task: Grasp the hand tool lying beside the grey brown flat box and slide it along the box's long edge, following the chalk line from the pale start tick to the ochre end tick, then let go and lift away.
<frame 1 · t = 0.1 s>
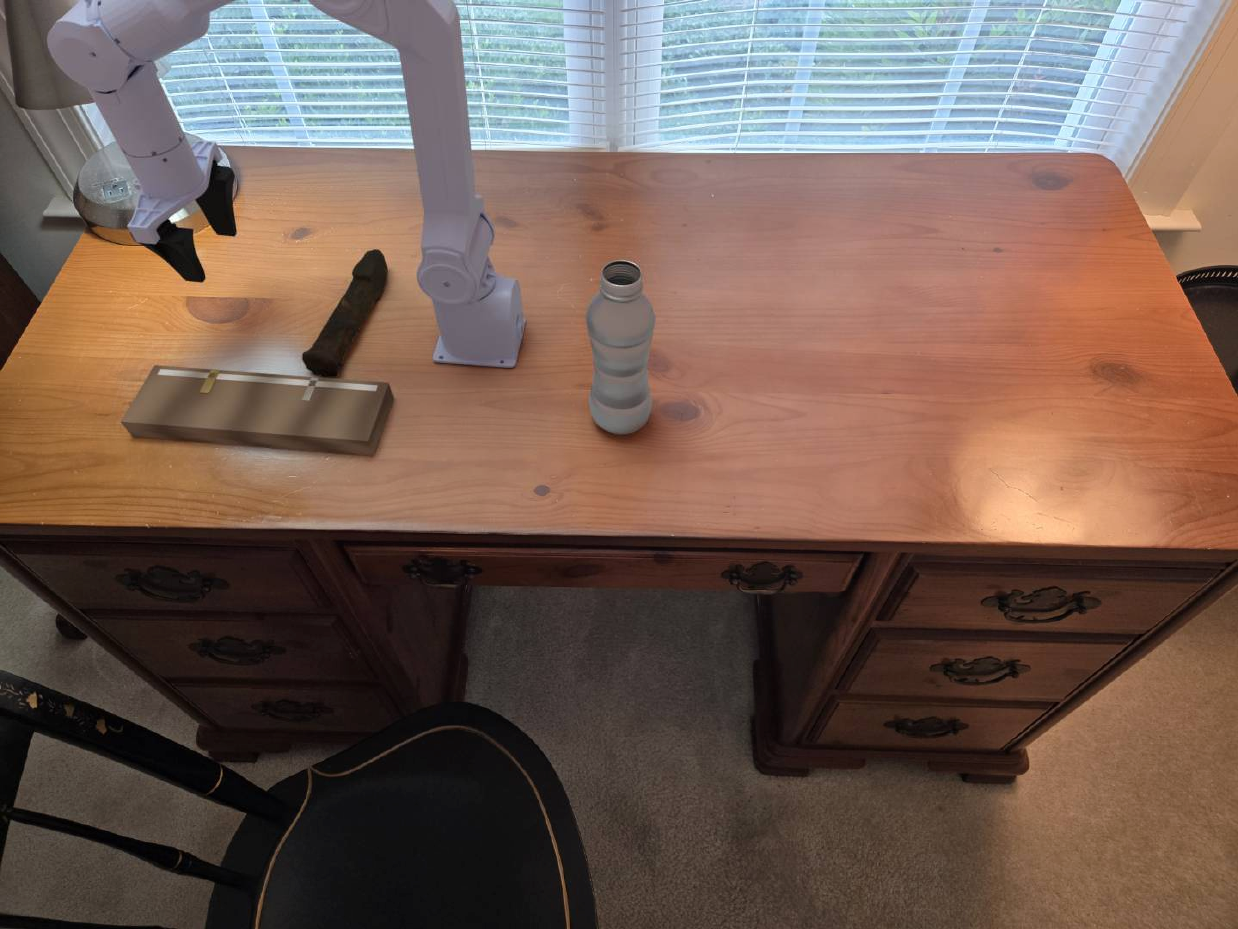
hand: (211, 256, 86), 10 cm above the table, tool pointing down, fingers open, 7 cm apart
grey brown flat box: (265, 416, 85), on the table
plastic bottle: (620, 419, 86), on the table
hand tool: (353, 322, 94), on the table
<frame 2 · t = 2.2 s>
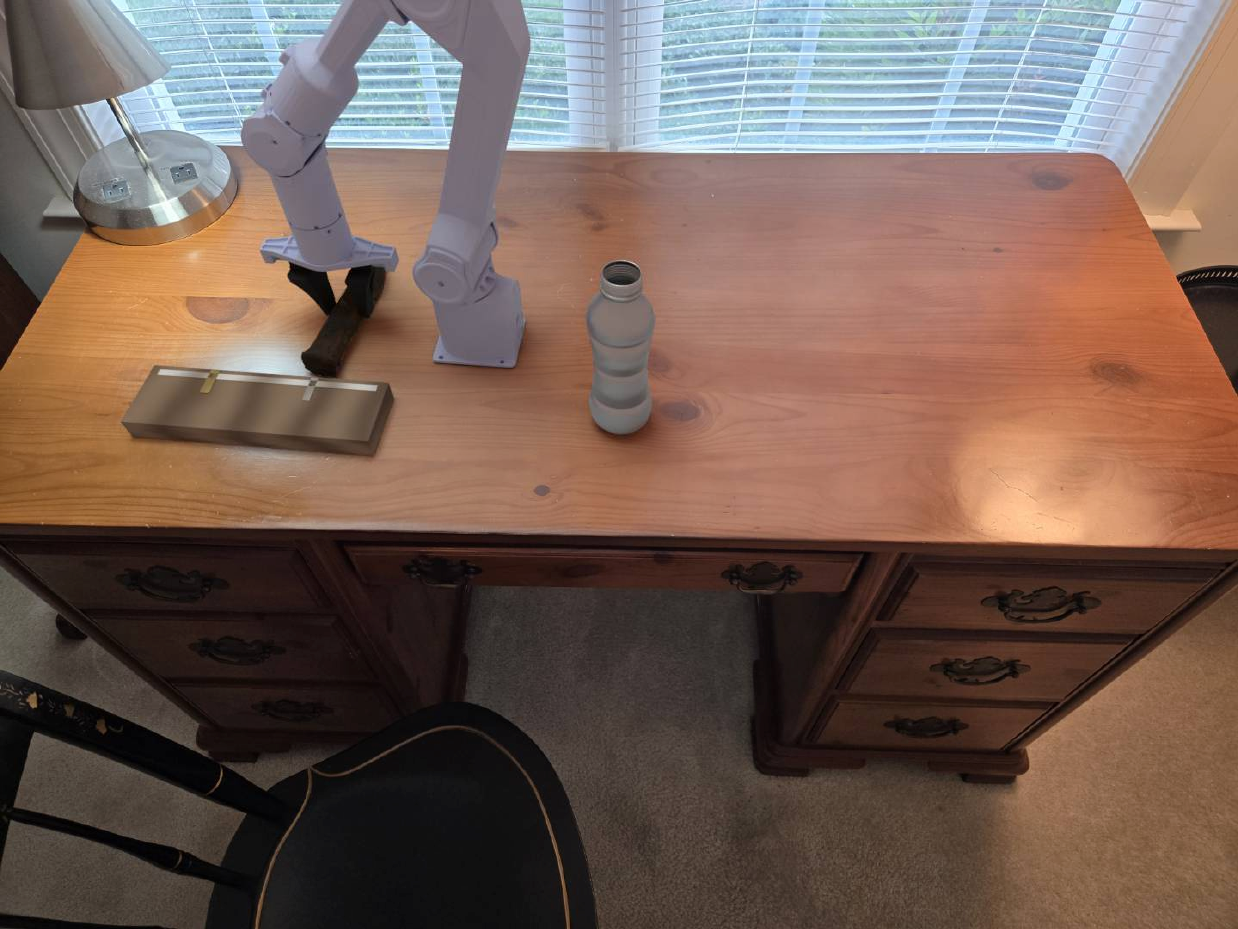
hand: (350, 311, 93), 1 cm above the table, tool pointing down, fingers open, 4 cm apart
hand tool: (352, 322, 94), on the table, touching gripper
everything else where it was.
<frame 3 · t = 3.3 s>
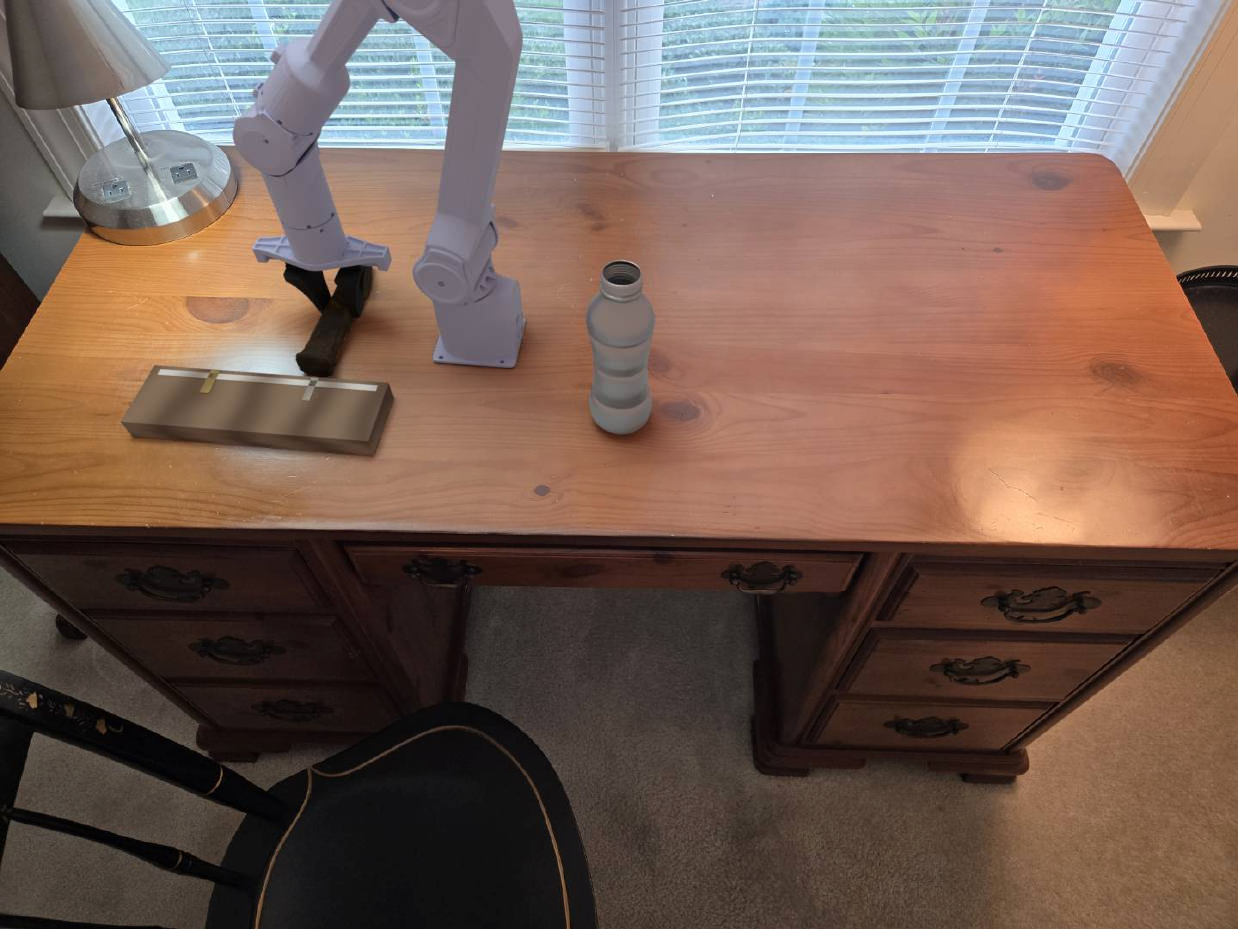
hand: (343, 310, 93), 1 cm above the table, tool pointing down, fingers closed on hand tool, 3 cm apart
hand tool: (343, 322, 94), on the table, touching gripper
everything else where it was.
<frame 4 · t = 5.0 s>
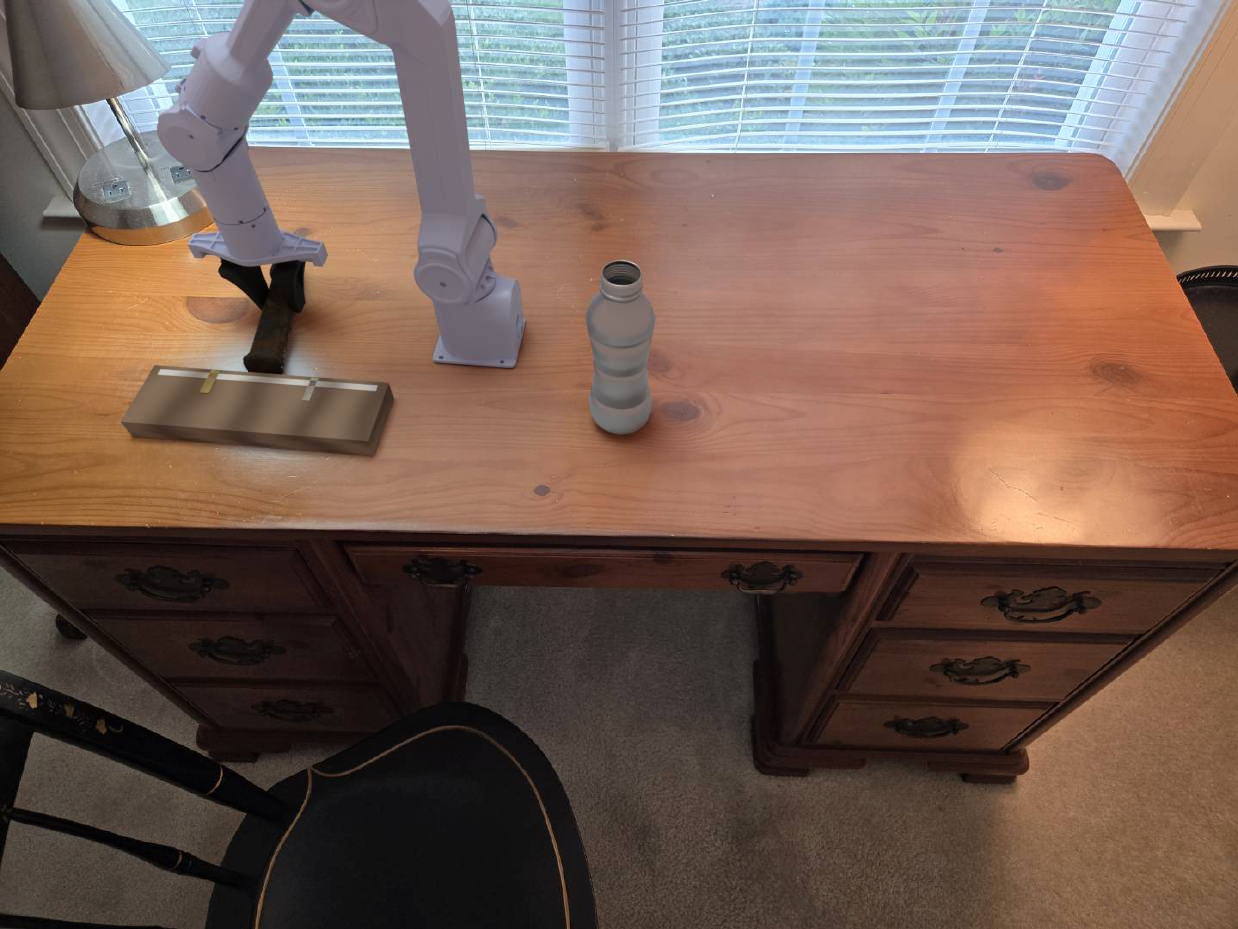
hand: (283, 306, 93), 1 cm above the table, tool pointing down, fingers closed on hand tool, 3 cm apart
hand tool: (281, 323, 94), on the table, touching gripper
everything else where it was.
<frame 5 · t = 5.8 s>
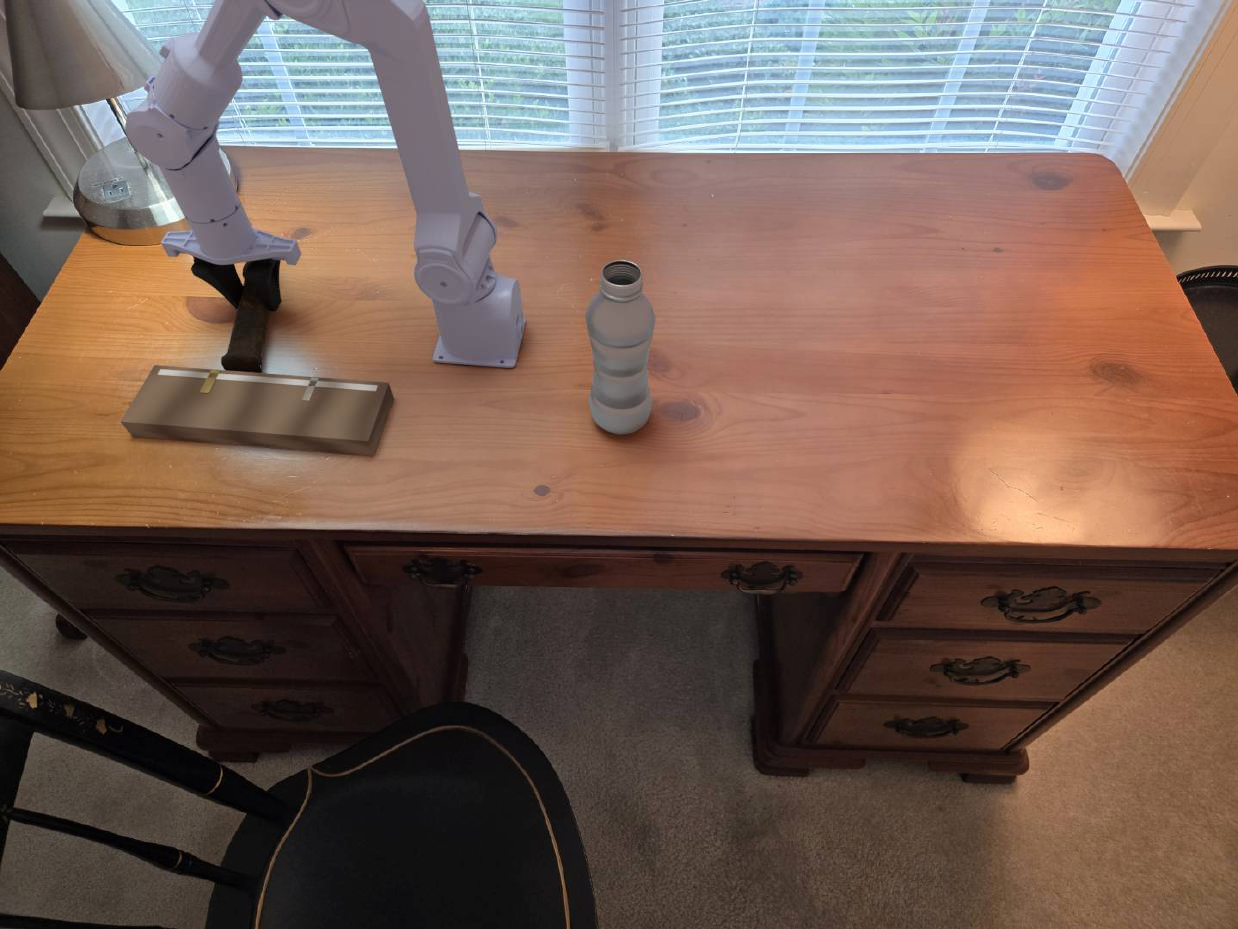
hand: (258, 304, 94), 1 cm above the table, tool pointing down, fingers closed on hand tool, 4 cm apart
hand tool: (256, 323, 94), on the table, touching gripper
everything else where it was.
when the fingers open (1 cm above the table, at t = 6.8 s): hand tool stays where it is, on the table.
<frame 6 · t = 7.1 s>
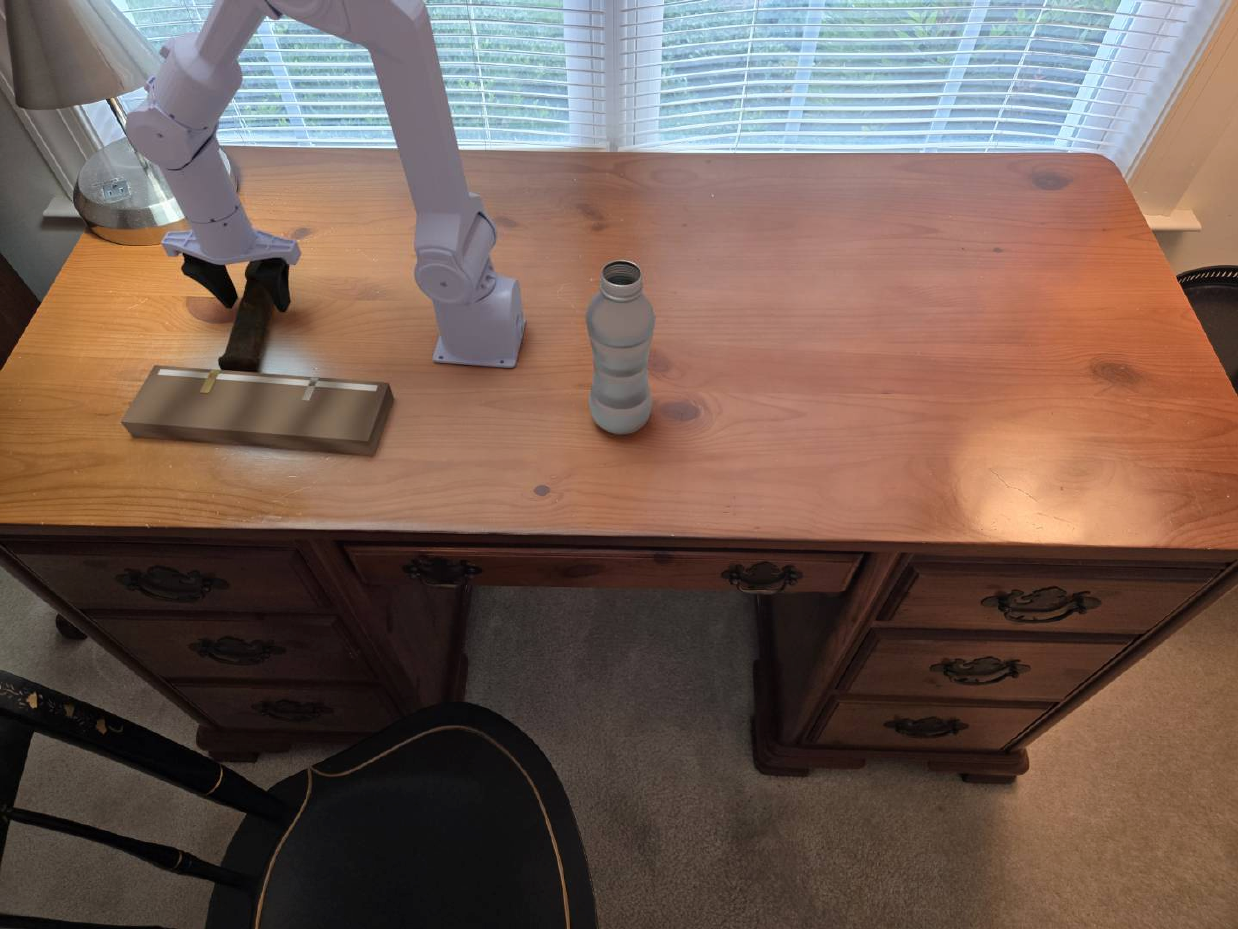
hand: (258, 304, 94), 1 cm above the table, tool pointing down, fingers open, 6 cm apart
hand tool: (257, 324, 94), on the table
everything else where it was.
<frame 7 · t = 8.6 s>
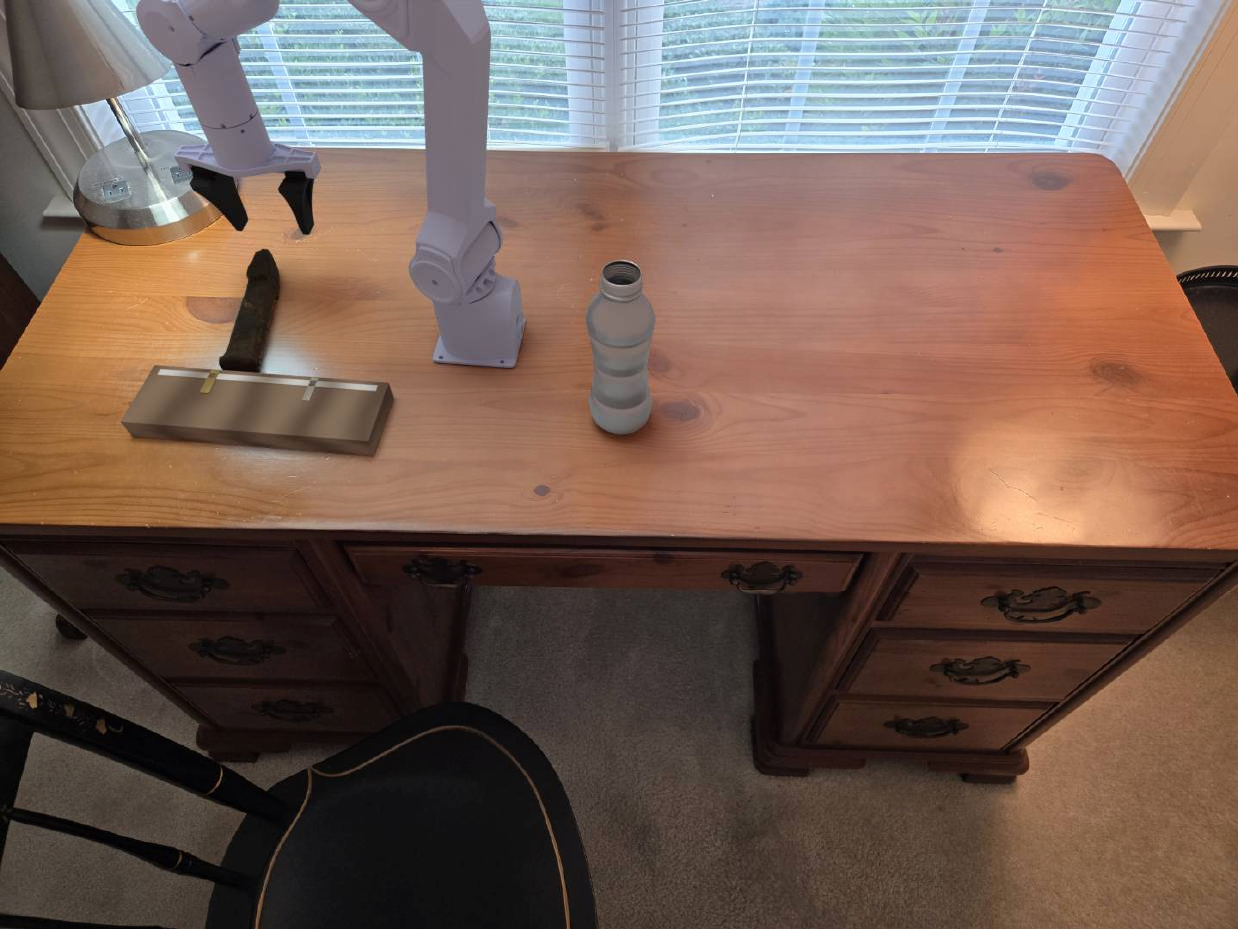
hand: (275, 227, 90), 9 cm above the table, tool pointing down, fingers open, 7 cm apart
nothing on the table moved.
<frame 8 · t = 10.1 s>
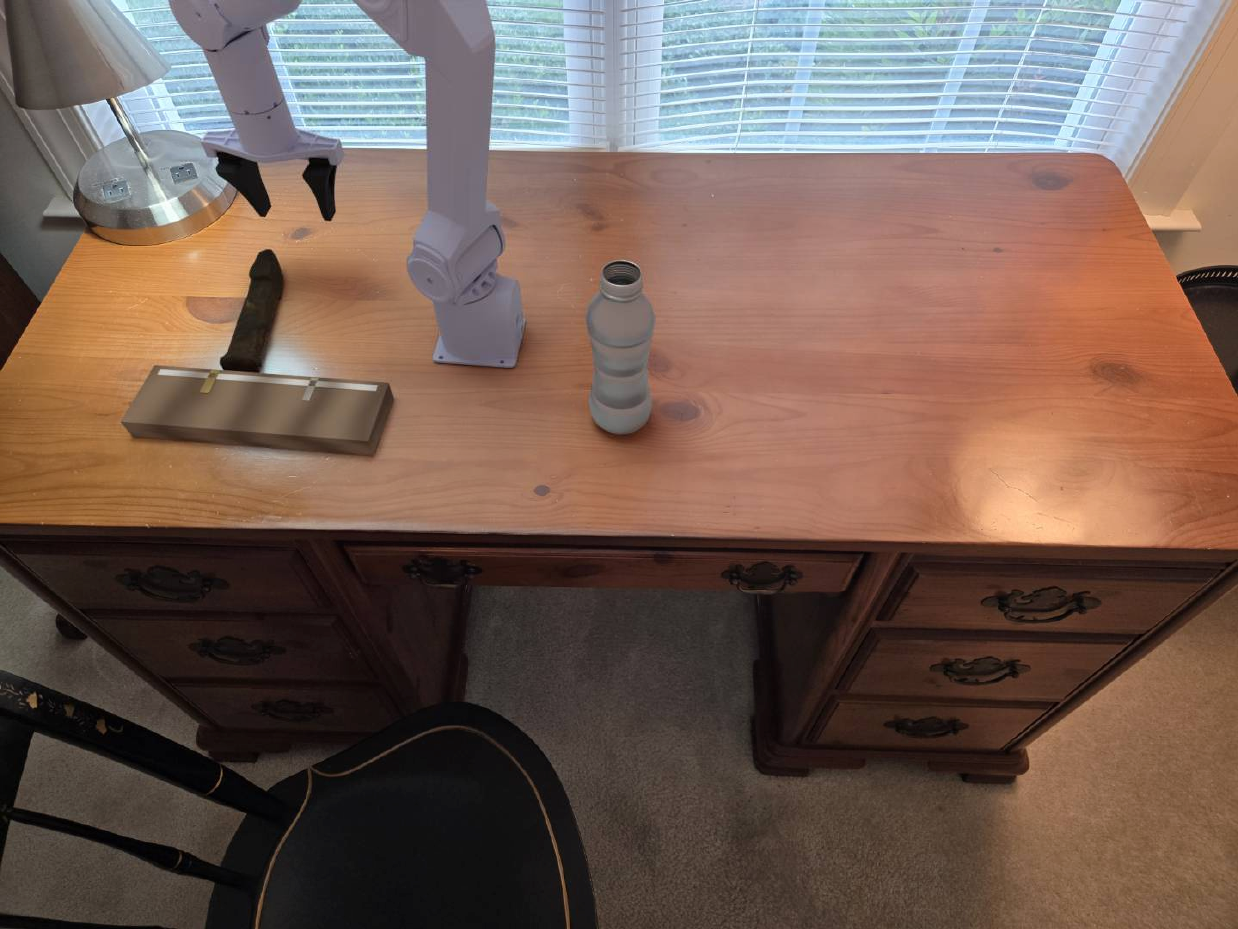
hand: (298, 213, 91), 9 cm above the table, tool pointing down, fingers open, 7 cm apart
nothing on the table moved.
at the end: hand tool 1.4 cm from the target spot, on the table; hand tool moved 11.0 cm from its start; the gripper is holding nothing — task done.
